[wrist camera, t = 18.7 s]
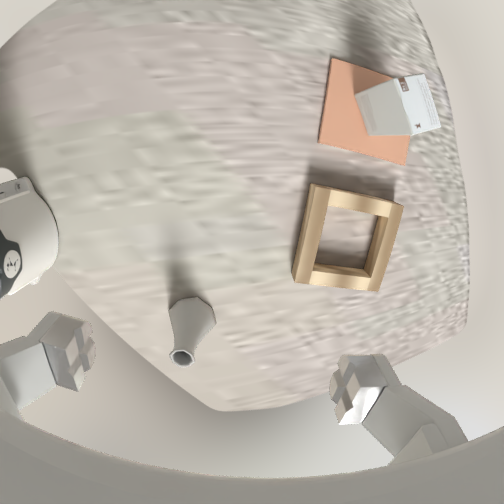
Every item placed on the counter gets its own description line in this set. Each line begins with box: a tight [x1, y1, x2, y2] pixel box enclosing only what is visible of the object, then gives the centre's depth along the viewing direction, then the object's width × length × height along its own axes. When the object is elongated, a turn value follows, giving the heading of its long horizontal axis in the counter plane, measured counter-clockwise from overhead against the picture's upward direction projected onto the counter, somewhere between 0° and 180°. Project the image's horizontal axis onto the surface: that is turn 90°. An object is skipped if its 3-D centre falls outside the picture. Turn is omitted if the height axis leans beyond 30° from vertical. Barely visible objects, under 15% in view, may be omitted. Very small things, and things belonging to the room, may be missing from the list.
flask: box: [169, 297, 216, 367], centre depth 40 cm, size 7×7×10 cm
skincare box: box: [355, 73, 441, 136], centre depth 28 cm, size 6×4×12 cm
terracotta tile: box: [318, 58, 410, 166], centre depth 34 cm, size 13×12×1 cm
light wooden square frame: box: [291, 183, 404, 292], centre depth 39 cm, size 13×13×3 cm
